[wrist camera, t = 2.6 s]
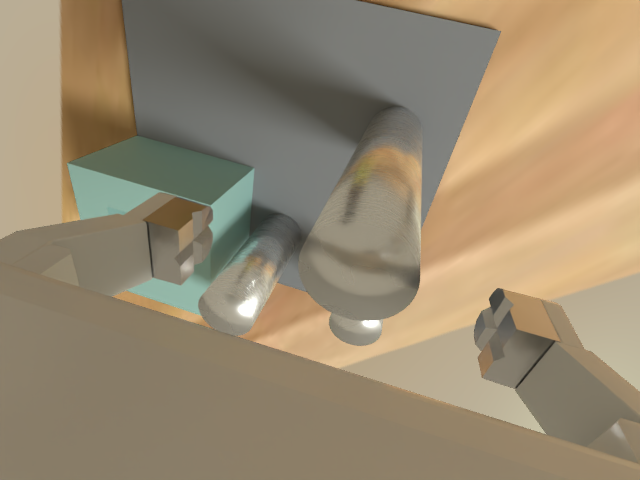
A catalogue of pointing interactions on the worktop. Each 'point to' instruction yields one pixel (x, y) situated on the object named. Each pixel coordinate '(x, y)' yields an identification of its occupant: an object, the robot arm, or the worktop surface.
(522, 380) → the robot arm
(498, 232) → the worktop surface
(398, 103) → the mat
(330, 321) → the short pin
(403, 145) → the long pin
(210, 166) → the block
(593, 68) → the worktop surface
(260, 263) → the medium pin
